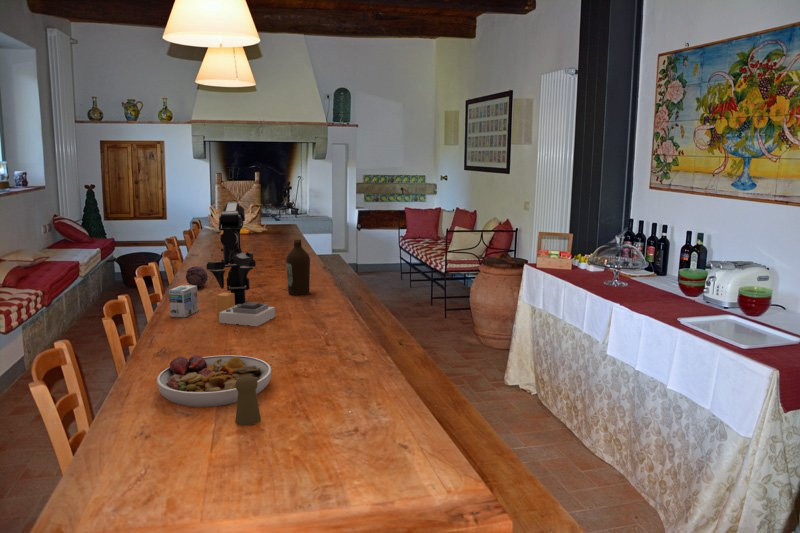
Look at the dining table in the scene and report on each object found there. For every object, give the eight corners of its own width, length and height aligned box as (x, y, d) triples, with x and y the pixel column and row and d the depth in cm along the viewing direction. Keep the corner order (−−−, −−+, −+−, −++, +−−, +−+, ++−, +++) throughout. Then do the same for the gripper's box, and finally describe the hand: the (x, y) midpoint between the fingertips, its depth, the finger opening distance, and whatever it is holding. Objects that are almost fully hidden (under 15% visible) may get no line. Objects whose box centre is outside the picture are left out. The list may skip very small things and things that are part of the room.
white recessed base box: (238, 313, 256) (238, 300, 255) (275, 317, 251) (274, 303, 250) (219, 323, 242) (218, 308, 241) (257, 326, 238) (256, 312, 237)
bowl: (291, 378, 186) (290, 351, 184) (232, 418, 158) (230, 388, 157) (203, 366, 196) (202, 341, 194) (133, 402, 168) (130, 374, 166)
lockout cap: (224, 311, 259) (223, 292, 258) (235, 312, 258) (234, 293, 256) (217, 314, 254) (216, 295, 253) (228, 315, 253) (227, 295, 252)
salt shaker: (248, 413, 160) (247, 371, 158) (266, 419, 157) (264, 376, 155) (230, 421, 156) (227, 378, 154) (247, 427, 152) (245, 383, 150)
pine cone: (209, 290, 298) (208, 268, 296) (187, 291, 295) (186, 270, 293) (206, 282, 314) (205, 262, 312) (185, 284, 311) (184, 263, 309)
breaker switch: (248, 309, 249) (248, 301, 248) (260, 310, 247) (259, 302, 247) (241, 312, 244) (241, 304, 244) (253, 313, 243) (253, 305, 242)
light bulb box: (185, 317, 250) (183, 290, 248) (169, 317, 251) (167, 290, 249) (199, 311, 260) (197, 285, 258) (183, 310, 261) (182, 284, 259)
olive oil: (307, 290, 298) (306, 236, 294) (313, 295, 289) (312, 239, 284) (284, 292, 294) (283, 238, 290) (290, 297, 284) (288, 241, 280)
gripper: (223, 247, 228) (225, 291, 229) (264, 245, 243) (266, 286, 244) (204, 246, 235) (206, 289, 236) (245, 244, 250) (246, 284, 251)
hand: (232, 287), depth 242 cm, fingers open, 9 cm apart
